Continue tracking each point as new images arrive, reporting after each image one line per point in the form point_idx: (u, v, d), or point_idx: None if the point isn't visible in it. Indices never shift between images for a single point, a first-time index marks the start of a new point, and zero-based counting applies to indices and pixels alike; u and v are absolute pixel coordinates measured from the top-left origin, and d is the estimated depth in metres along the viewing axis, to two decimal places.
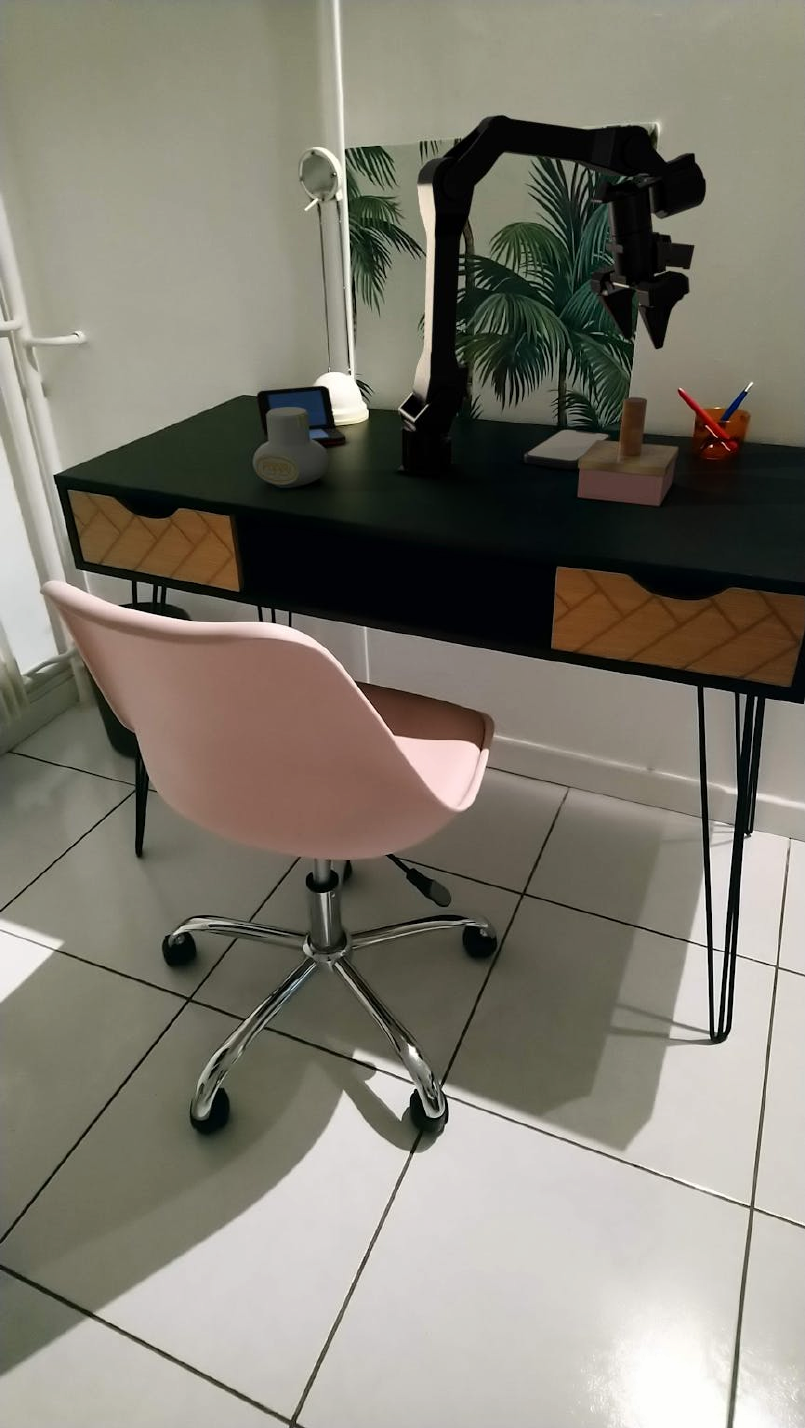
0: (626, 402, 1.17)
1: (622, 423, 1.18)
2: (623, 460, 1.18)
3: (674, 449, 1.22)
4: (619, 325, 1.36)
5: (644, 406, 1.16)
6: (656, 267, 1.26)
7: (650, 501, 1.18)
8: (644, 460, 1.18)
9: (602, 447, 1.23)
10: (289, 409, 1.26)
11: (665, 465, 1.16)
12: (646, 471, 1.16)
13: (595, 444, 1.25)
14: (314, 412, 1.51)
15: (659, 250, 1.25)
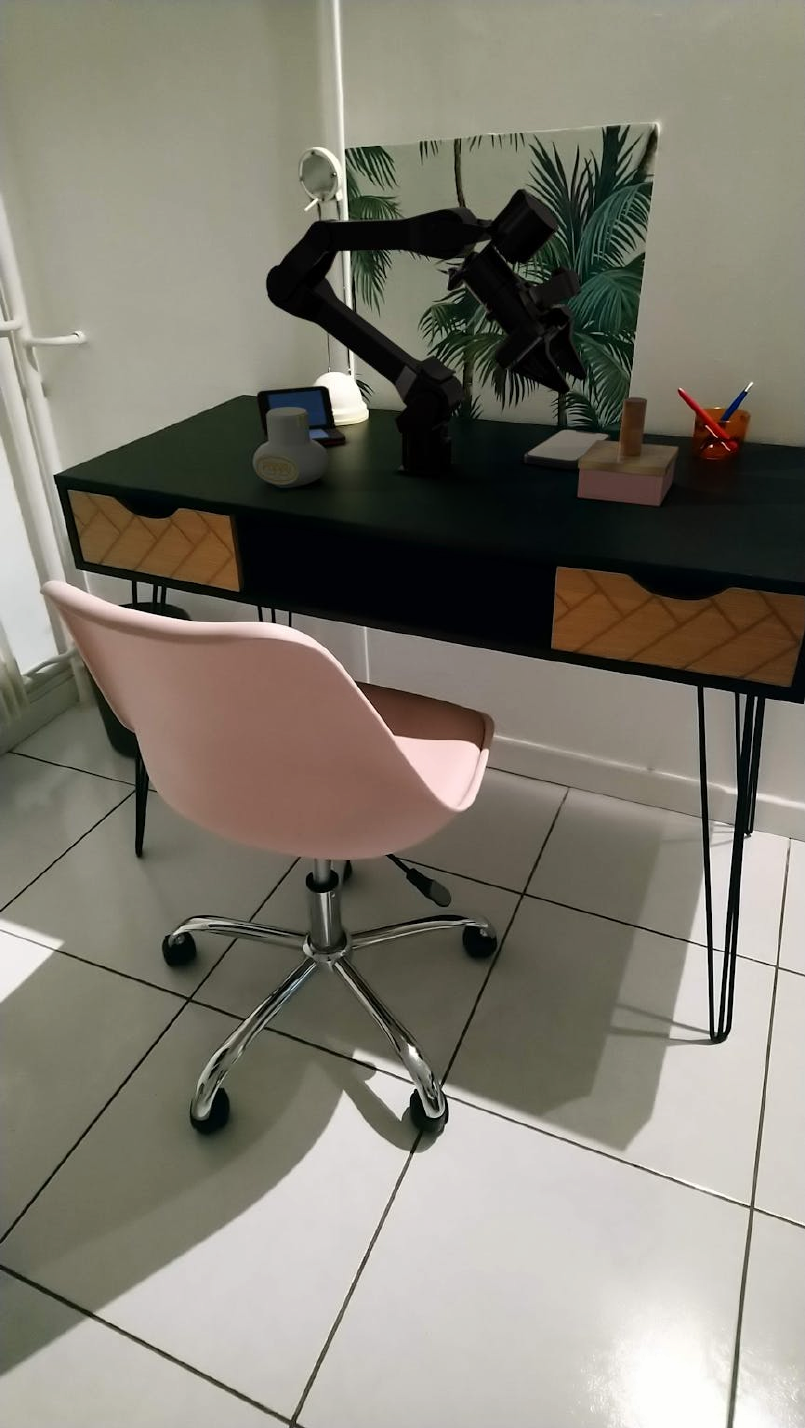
0: (626, 402, 1.17)
1: (622, 423, 1.18)
2: (623, 460, 1.18)
3: (674, 449, 1.22)
4: (566, 371, 1.23)
5: (644, 406, 1.16)
6: None
7: (650, 501, 1.18)
8: (644, 460, 1.18)
9: (602, 447, 1.23)
10: (289, 409, 1.26)
11: (665, 465, 1.16)
12: (646, 471, 1.16)
13: (595, 444, 1.25)
14: (314, 412, 1.51)
15: (524, 299, 1.14)
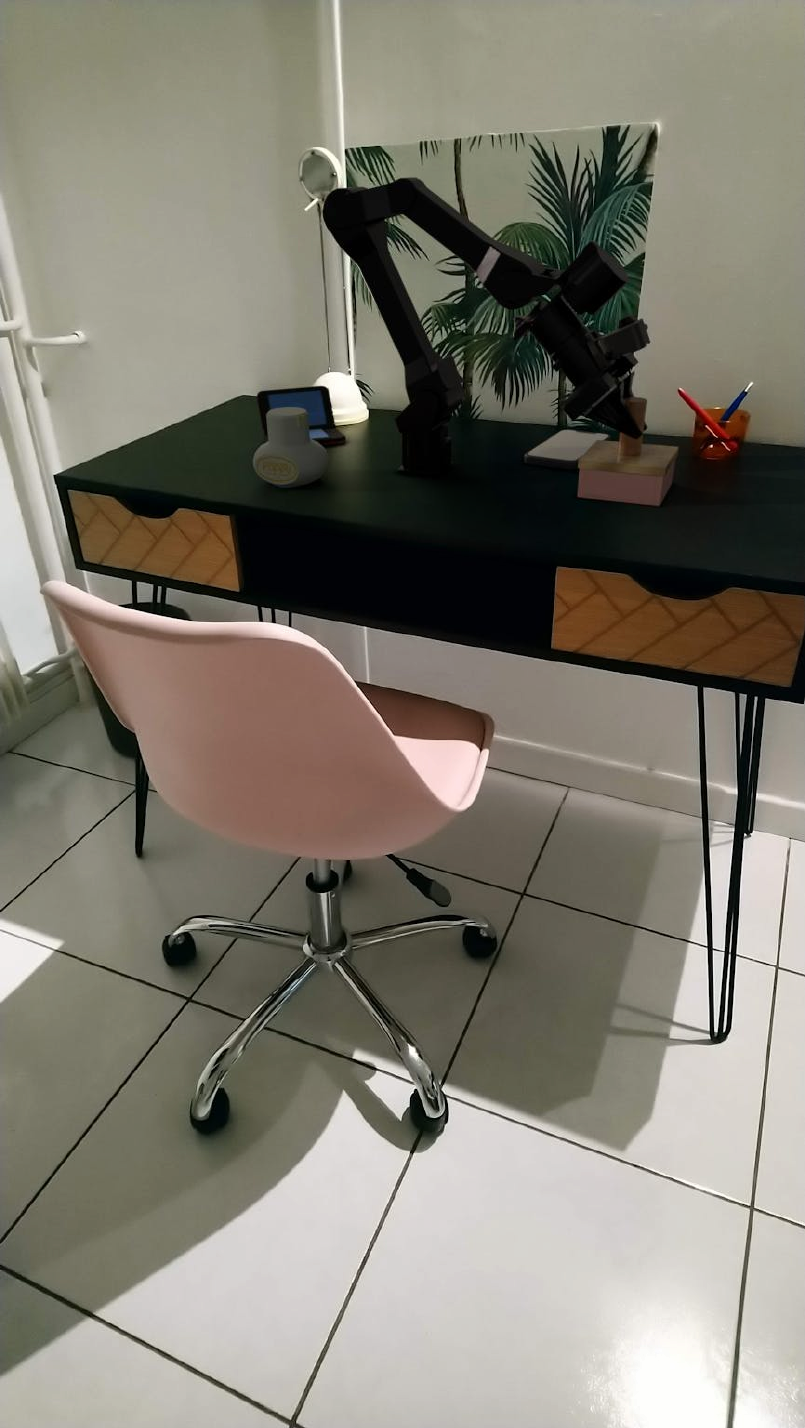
0: (626, 402, 1.17)
1: None
2: (623, 460, 1.18)
3: (674, 449, 1.22)
4: None
5: (644, 406, 1.16)
6: (599, 366, 1.14)
7: (650, 501, 1.18)
8: (644, 460, 1.18)
9: (602, 447, 1.23)
10: (289, 409, 1.26)
11: (665, 465, 1.16)
12: (646, 471, 1.16)
13: (595, 444, 1.25)
14: (314, 412, 1.51)
15: (592, 350, 1.14)
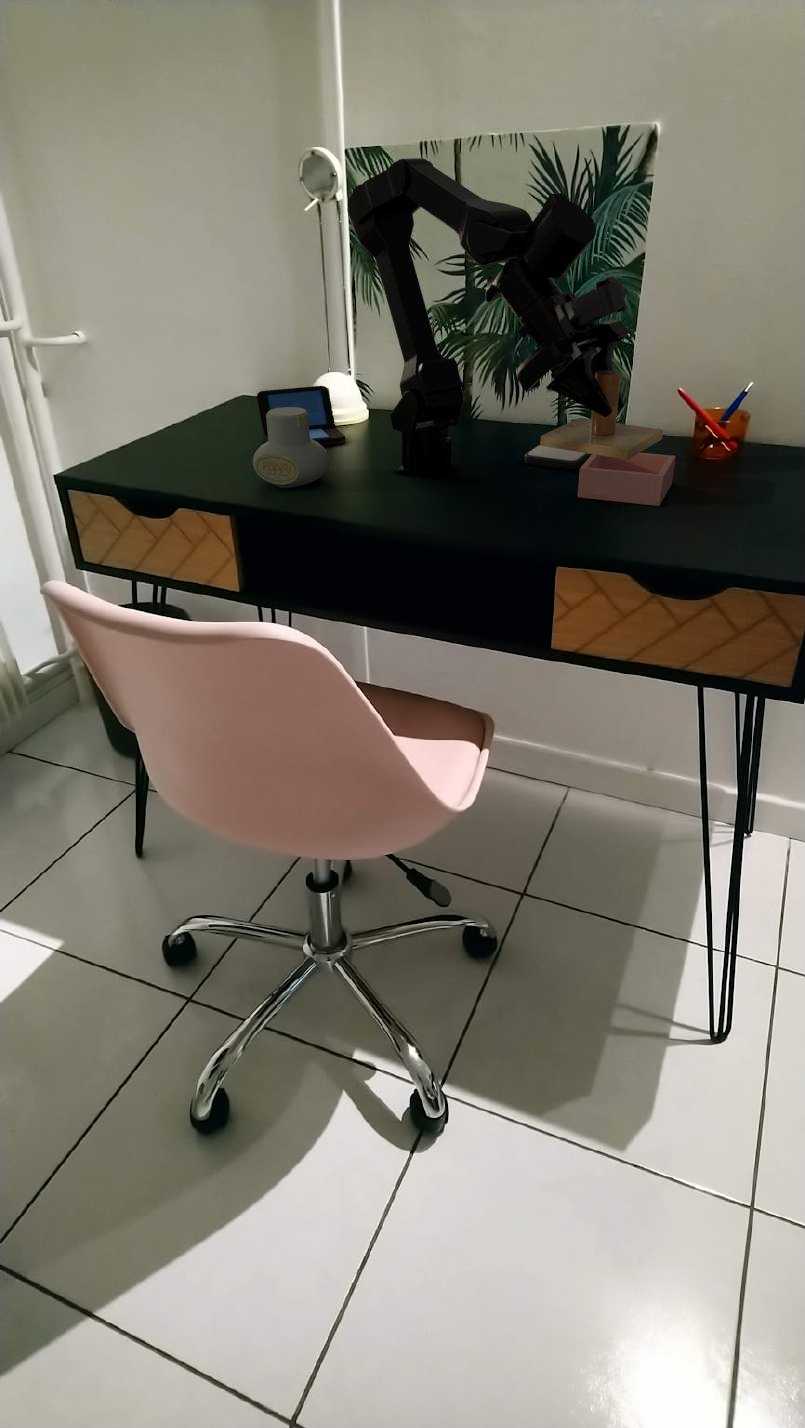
0: (596, 375, 1.05)
1: None
2: (588, 439, 1.06)
3: (656, 432, 1.09)
4: None
5: (616, 379, 1.04)
6: None
7: (650, 501, 1.18)
8: (611, 440, 1.06)
9: (577, 425, 1.12)
10: (289, 409, 1.26)
11: (630, 447, 1.03)
12: (609, 452, 1.04)
13: (573, 422, 1.13)
14: (314, 412, 1.51)
15: (558, 315, 1.03)
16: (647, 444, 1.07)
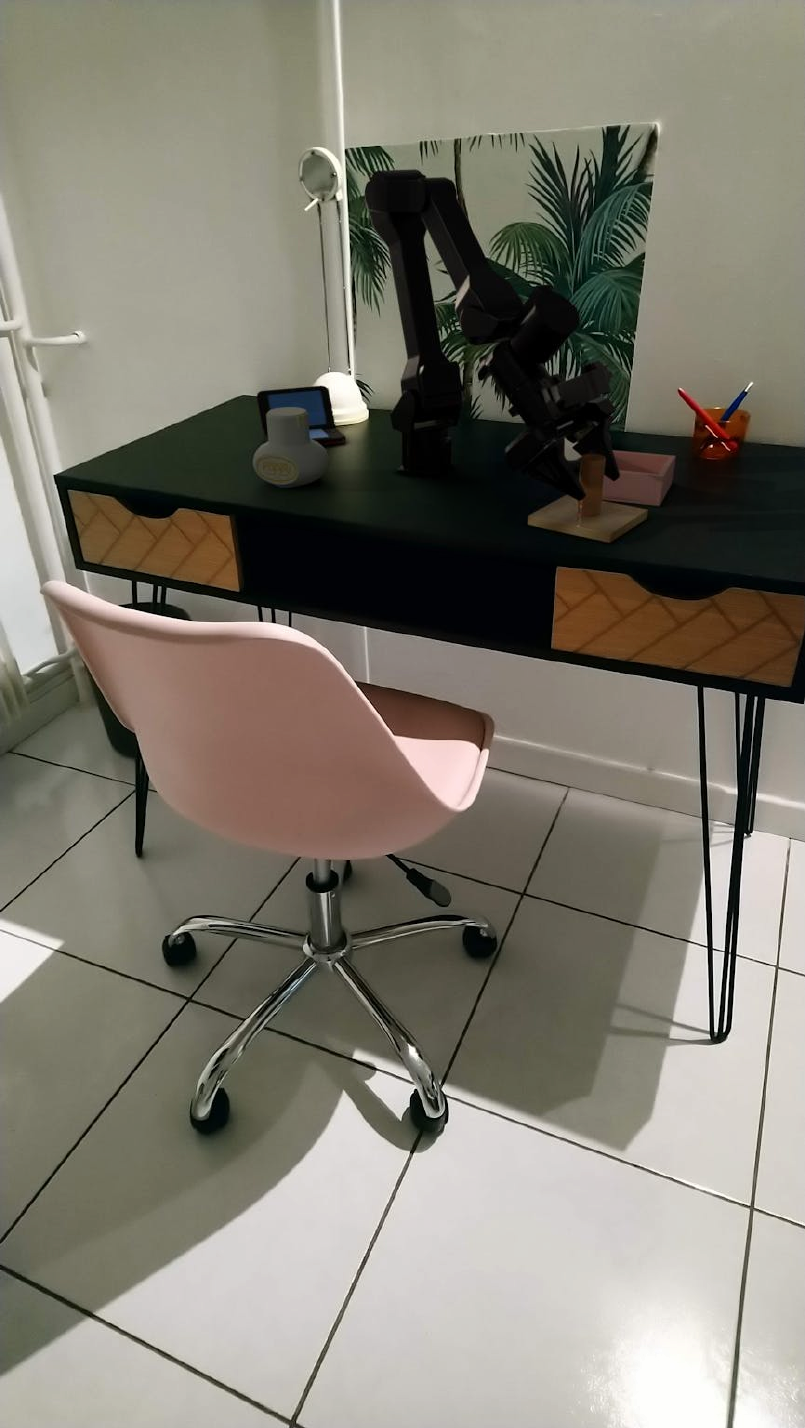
0: (581, 459, 1.09)
1: (579, 481, 1.11)
2: (573, 520, 1.10)
3: (640, 512, 1.12)
4: None
5: (600, 465, 1.08)
6: None
7: (650, 501, 1.18)
8: (595, 522, 1.10)
9: (565, 503, 1.16)
10: (289, 409, 1.26)
11: (612, 531, 1.07)
12: (592, 535, 1.08)
13: (561, 499, 1.17)
14: (314, 412, 1.51)
15: (545, 397, 1.07)
16: (630, 525, 1.10)
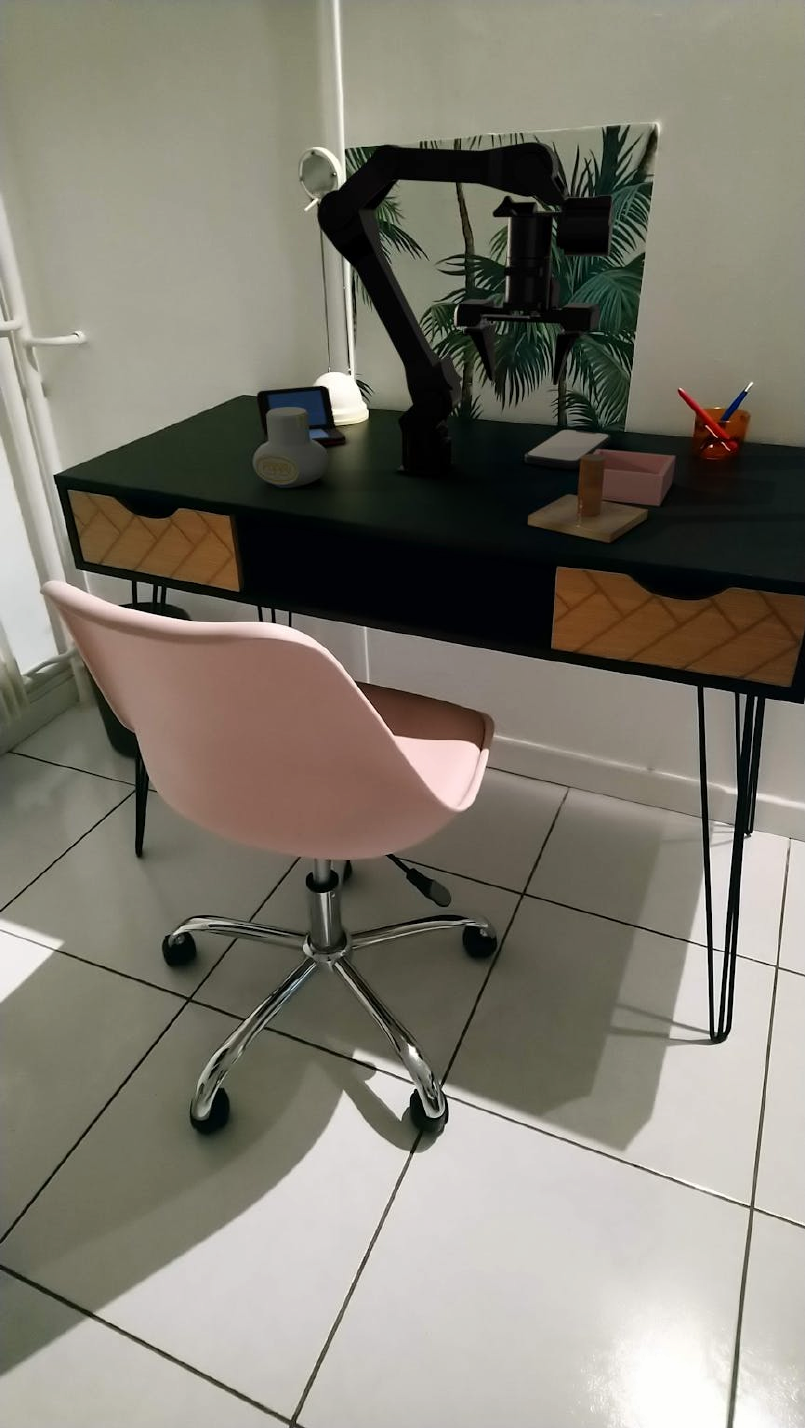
0: (581, 459, 1.09)
1: (579, 481, 1.11)
2: (573, 520, 1.10)
3: (640, 512, 1.12)
4: (489, 364, 1.23)
5: (600, 465, 1.08)
6: (549, 299, 1.19)
7: (650, 501, 1.18)
8: (595, 522, 1.10)
9: (565, 503, 1.16)
10: (289, 409, 1.26)
11: (612, 531, 1.07)
12: (592, 535, 1.08)
13: (561, 499, 1.17)
14: (314, 412, 1.51)
15: (552, 282, 1.18)
16: (630, 525, 1.10)
